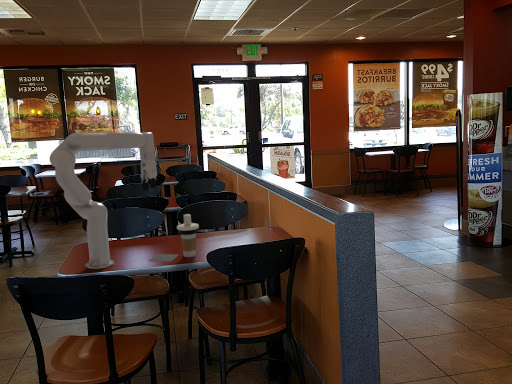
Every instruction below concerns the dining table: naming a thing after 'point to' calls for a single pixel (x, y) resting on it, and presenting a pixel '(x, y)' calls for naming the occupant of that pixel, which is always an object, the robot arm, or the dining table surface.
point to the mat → (164, 257)
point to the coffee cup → (188, 242)
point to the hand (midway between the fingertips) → (149, 189)
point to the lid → (187, 224)
